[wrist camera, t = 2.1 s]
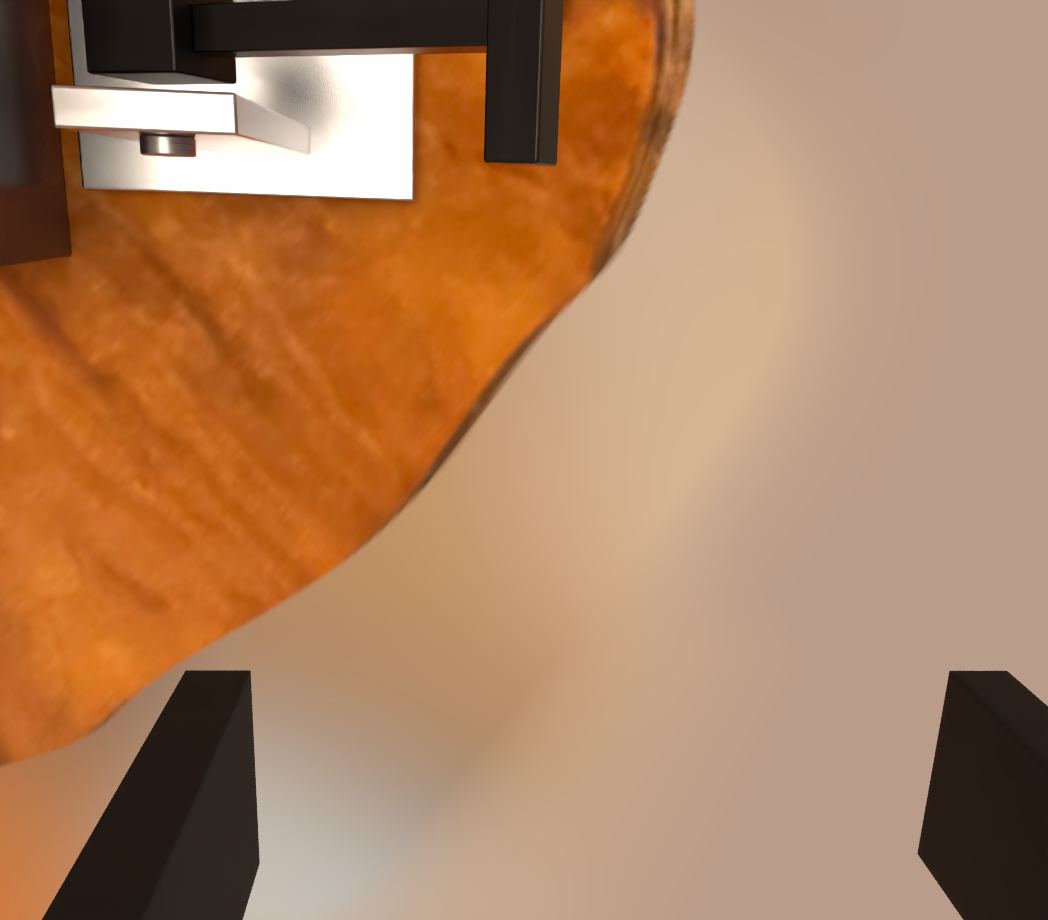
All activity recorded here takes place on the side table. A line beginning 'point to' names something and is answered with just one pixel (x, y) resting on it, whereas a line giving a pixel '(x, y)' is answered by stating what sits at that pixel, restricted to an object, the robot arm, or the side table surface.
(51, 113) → the toaster
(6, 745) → the side table surface
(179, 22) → the lever
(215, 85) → the lever bracket
